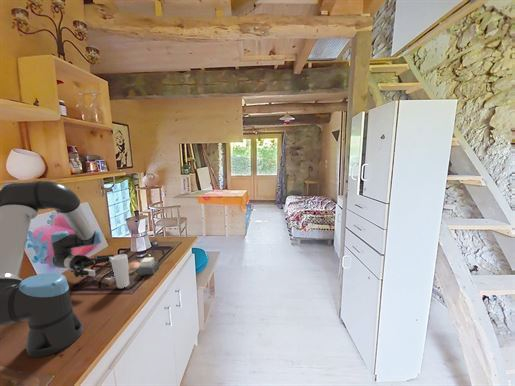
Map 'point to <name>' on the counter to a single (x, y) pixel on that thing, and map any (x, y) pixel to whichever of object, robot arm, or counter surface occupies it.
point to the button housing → (148, 269)
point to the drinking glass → (120, 270)
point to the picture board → (131, 266)
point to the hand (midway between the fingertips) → (107, 266)
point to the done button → (147, 262)
